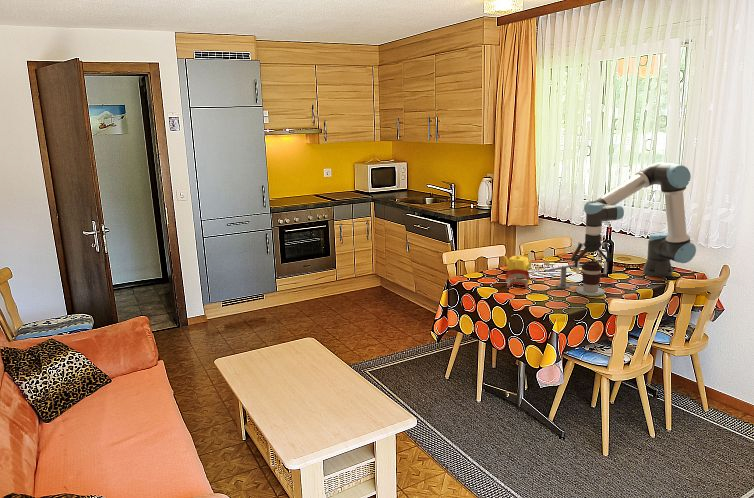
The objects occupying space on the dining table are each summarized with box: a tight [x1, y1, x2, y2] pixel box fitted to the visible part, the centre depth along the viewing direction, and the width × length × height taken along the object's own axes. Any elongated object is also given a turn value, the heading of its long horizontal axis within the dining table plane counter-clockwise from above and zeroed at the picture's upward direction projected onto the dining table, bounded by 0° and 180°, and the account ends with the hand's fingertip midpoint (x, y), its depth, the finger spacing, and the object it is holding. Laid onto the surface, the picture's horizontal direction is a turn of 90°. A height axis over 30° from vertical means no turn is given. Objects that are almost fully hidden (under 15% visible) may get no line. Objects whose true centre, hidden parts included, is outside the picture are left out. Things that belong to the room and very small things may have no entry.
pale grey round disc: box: [575, 286, 606, 297], centre depth 291 cm, size 14×14×1 cm
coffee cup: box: [581, 260, 603, 292], centre depth 289 cm, size 10×10×15 cm
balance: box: [543, 261, 583, 289], centre depth 301 cm, size 21×6×13 cm, turn 82°
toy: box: [505, 269, 530, 290], centre depth 307 cm, size 12×10×8 cm
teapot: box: [502, 253, 535, 272], centre depth 332 cm, size 15×14×10 cm
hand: (591, 273), depth 289 cm, fingers open, 13 cm apart
